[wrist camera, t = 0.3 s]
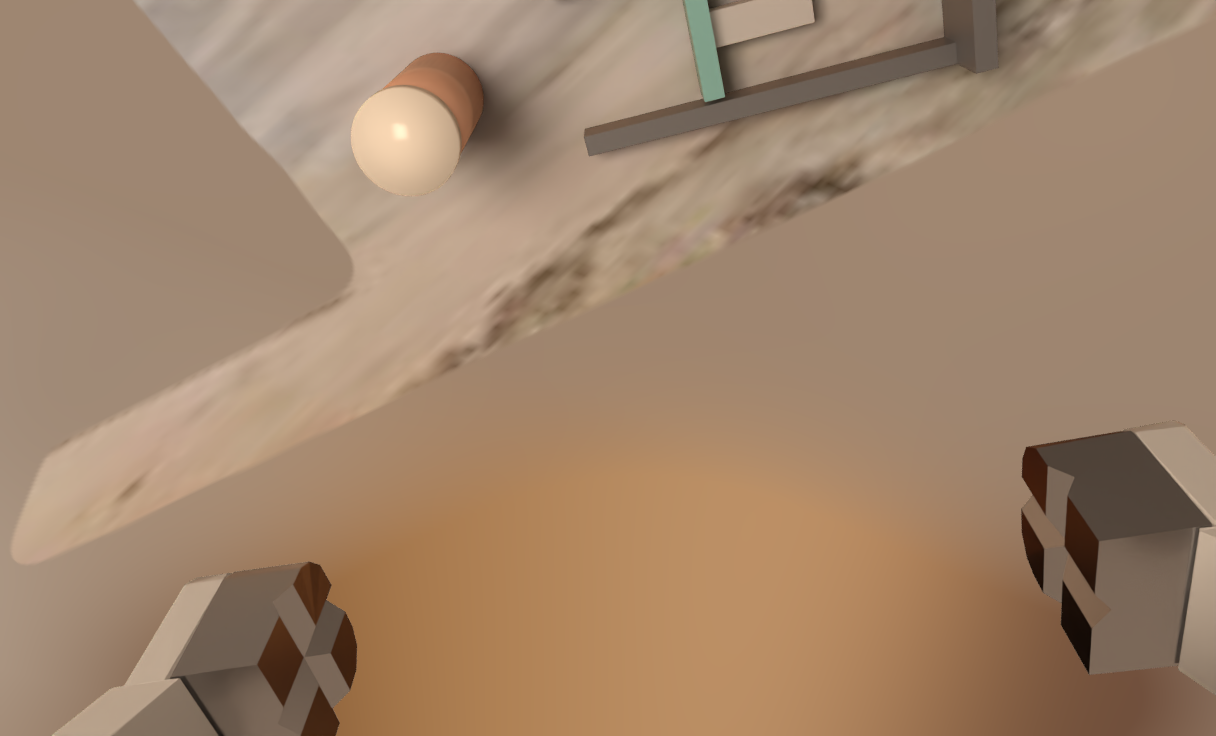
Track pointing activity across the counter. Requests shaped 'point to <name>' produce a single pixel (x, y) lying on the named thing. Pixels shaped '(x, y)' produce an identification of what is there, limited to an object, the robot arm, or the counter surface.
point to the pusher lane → (820, 80)
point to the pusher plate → (736, 31)
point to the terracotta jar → (418, 125)
